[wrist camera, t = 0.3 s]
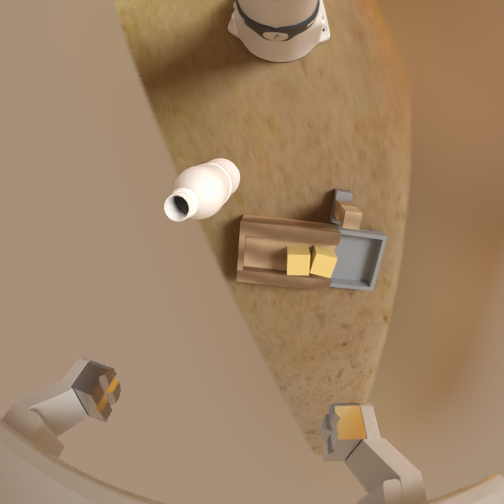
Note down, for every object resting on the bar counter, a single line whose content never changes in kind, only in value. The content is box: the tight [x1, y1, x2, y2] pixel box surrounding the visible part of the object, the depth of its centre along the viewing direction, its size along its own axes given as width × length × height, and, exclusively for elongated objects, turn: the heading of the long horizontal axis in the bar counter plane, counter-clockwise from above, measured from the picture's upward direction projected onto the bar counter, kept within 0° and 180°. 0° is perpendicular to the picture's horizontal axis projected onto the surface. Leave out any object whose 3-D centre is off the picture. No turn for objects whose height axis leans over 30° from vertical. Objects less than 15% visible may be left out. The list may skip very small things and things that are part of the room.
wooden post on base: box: [330, 189, 362, 230], centre depth 47 cm, size 6×3×10 cm, turn 175°
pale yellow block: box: [287, 246, 310, 275], centre depth 51 cm, size 4×4×4 cm
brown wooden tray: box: [236, 214, 341, 292], centre depth 53 cm, size 12×18×5 cm, turn 85°
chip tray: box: [330, 225, 387, 291], centre depth 54 cm, size 12×10×3 cm
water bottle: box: [164, 158, 240, 221], centre depth 40 cm, size 7×7×25 cm
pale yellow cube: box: [309, 245, 338, 278], centre depth 51 cm, size 4×4×4 cm
